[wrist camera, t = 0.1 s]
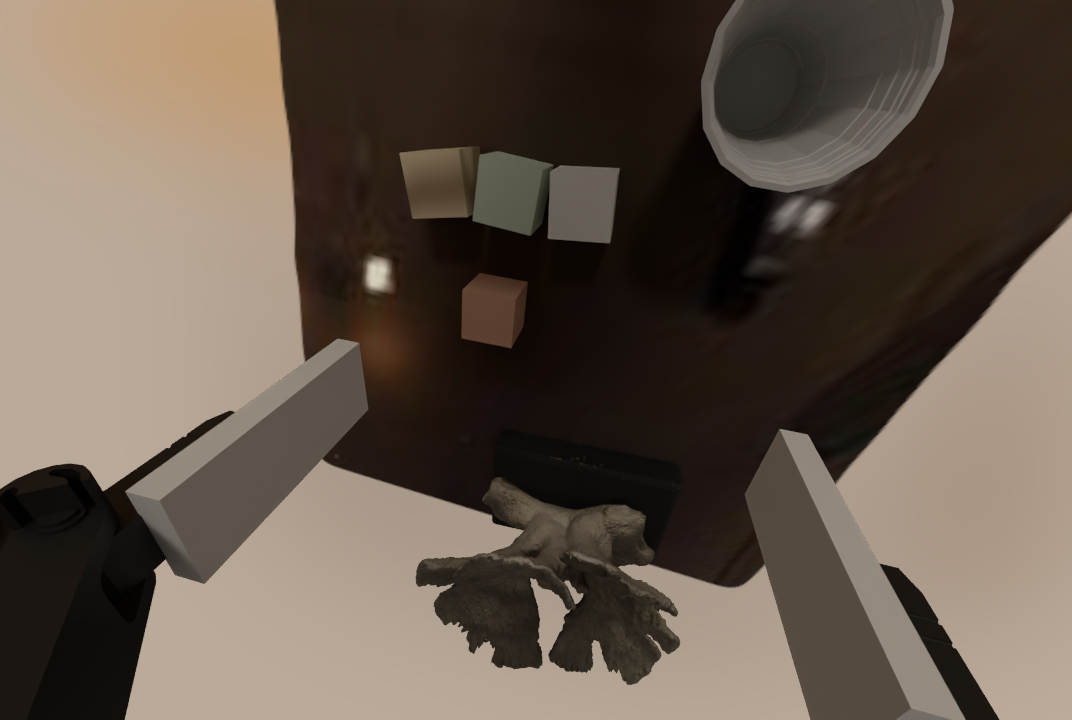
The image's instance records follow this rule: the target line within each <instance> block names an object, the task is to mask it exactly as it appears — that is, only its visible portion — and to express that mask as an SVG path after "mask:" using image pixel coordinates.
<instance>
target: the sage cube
mask: <svg viewBox="0 0 1072 720" xmlns="http://www.w3.org/2000/svg"><path fill="white" fill-rule="evenodd" d="M553 166H554V165H553V164H549V163H545V162H540V161H536V160H532V159H528V158H524V157H520V156H516V155H511V154H507V153H503V152H499V151H497V152H492V153H487V154H482V155H480V156H479V165H478V174H477V184H476V193H475V202H474V211H473V220H472V221H475V222H479V223H483V224H486V225H490V226H494V227H498V228H502V229H506V230H510V231H514V232H517V233H521V234H525V235H529V236H531V235H532V234H533V233H534V231H535V230H536V229H537V228H538V227H539V226H540V225H541V224H542V222H543V216H544V211H545V206H546V201H547V196H548V191H549V186H550V171H552V170H553Z"/></svg>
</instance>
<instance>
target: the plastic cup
mask: <svg viewBox="0 0 1072 720" xmlns="http://www.w3.org/2000/svg"><path fill="white" fill-rule="evenodd" d="M953 11H954V7H953V3H952V0H736V1H735V2H734V4H733V5H732V7H731V8H730V10H729V11H728V13H727V14H726V16H725V17H724V19H723V20H722V22H721V24H720V25H719V27H718V28H717V30H716V33H715V37H714V40H713V43H712V47H711V50H710V54H709V57H708V60H707V64H706V67H705V70H704V74H703V77H702V80H701V93H702V115H703V129H704V131H705V133H706V136H707V138H708V140H709V142H710V144H711V146H712V148H713V150H714V152H715V154H716V156H717V158H718V160H719V162H720V164H721V165H722V166H724V167H725V168H726V169H728V170H729V171H730V172H732V173H733V174H734V175H736V176H737V177H738V178H740V179H741V180H743V181H744V182H745V183H747V184H748V185H749V186H753V187H759V188H764V189H770V190H776V191H781V192H787V193H789V192H793V191H798V190H803V189H807V188H812V187H816V186H821V185H826V184H830V183H833V182H834V181H836V180H838V179H839V178H841V177H843V176H845V175H846V174H848V173H850V172H851V171H853V170H855V169H857V168H858V167H860V166H862V165H864V164H865V163H867V162H869V161H870V160H872V159H874V158H875V157H876V156H877V155H878V154H879V153H880V152H881V151H882V150H883V149H884V148H885V147H886V146H887V145H888V144H889V143H890V142H891V141H892V140H893V139H894V138H895V137H896V136H897V135H898V134H899V133H900V132H901V131H902V130H903V129H904V128H905V127H906V126H907V125H908V124H909V123H910V122H911V120H912V119H913V118H914V117H915V116H916V114H917V112H918V110H919V108H920V106H921V105H922V103H923V101H924V99H925V97H926V96H927V94H928V92H929V90H930V88H931V87H932V85H933V83H934V81H935V79H936V77H937V76H938V74H939V72H940V70H941V68H942V67H943V63H944V58H945V53H946V48H947V42H948V37H949V32H950V27H951V22H952V17H953Z"/></svg>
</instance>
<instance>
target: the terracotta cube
mask: <svg viewBox="0 0 1072 720" xmlns="http://www.w3.org/2000/svg"><path fill="white" fill-rule="evenodd" d="M527 286H528V282H526V281H521V280H515V279H510V278H504V277H498V276H493V275H487V274H482V273H480V274H478V275H477V276H476V277H475V278H474V279H473V280H472V281H471V282H470V283H469V284H468V285H467V286H466V287H465V288H464V289H463V290H462V338H463V339H468V340H473V341H478V342H483V343H488V344H493V345H498V346H503V347H508V348H512V346H513V344H514V342H515V341H516V339H517V337H518V335H519V334H520V332H521V330H522V328H523V325H524V315H525V305H526V295H527Z"/></svg>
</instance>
